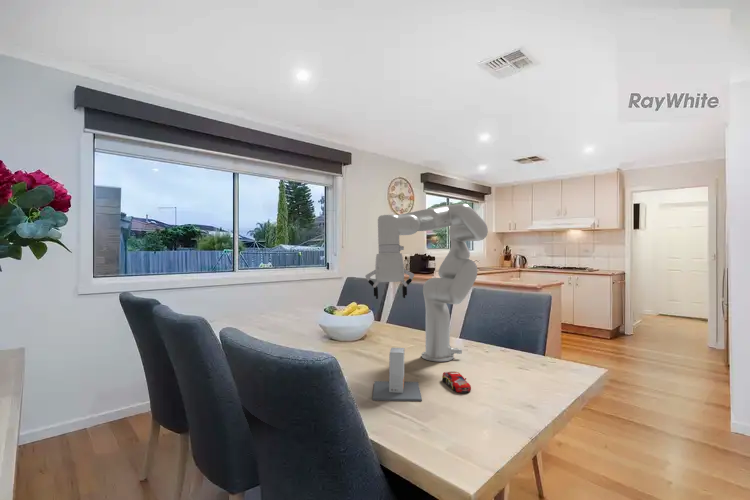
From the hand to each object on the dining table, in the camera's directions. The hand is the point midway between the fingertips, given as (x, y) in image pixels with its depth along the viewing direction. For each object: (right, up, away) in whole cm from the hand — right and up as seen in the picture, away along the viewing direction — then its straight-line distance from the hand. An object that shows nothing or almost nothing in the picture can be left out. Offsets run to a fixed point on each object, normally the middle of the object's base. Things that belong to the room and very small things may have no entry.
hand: (390, 297), depth 136 cm
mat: (+1, -26, -20) cm, 33 cm away
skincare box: (+1, -26, -20) cm, 32 cm away
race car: (+20, -26, -15) cm, 37 cm away
